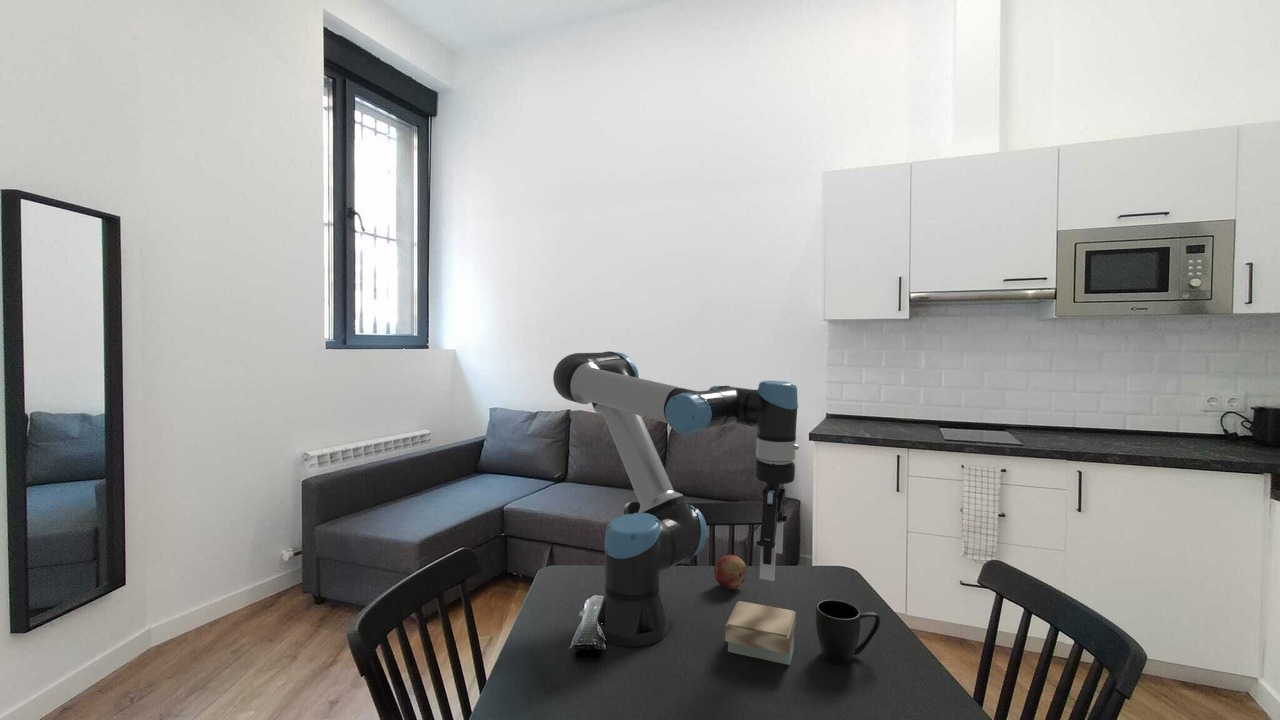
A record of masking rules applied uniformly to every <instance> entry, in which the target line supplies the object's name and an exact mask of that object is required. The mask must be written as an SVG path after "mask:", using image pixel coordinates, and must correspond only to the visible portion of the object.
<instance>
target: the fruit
mask: <svg viewBox="0 0 1280 720" xmlns="http://www.w3.org/2000/svg"><path fill="white" fill-rule="evenodd" d="M713 568H714V569H713V570H714V572H713V573H714V578H715V579H714V580H716V582H717V583H718V584H719V586H721V587H723V588H725V589H727V590H737V589H738V588H739V587H740V588H741V586H742V585H743V584H744V583H745V582H744V581H745V579H746V573H747V566H746V562H744V560H743V559H741V558H740V556H737V555H734V554H728V555H724V556H722V557H721V558H719V560H717V562H716V563H715V565H714V567H713Z"/></svg>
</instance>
